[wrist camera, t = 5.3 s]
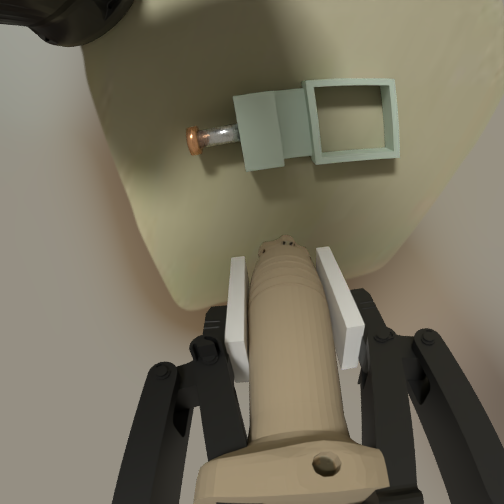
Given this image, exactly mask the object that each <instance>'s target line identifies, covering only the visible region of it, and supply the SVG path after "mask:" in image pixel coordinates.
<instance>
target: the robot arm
mask: <svg viewBox="0 0 504 504" xmlns="http://www.w3.org/2000/svg"><path fill="white" fill-rule="evenodd" d="M133 1H134V0H0V24H8V25H19V26H26V27H28V28H30V29H31V30H32V31H33V32H34V33H35V34H37V35H38V36H39V37H40V38H41V39H42V40H44V41H45V42H47V43H49V44H52V45H57V46H63V47H74V46H80V45H83V44H86V43H89V42H91V41H93V40H95V39H97V38H99V37H100V36H102V35H103V34H105V33H106V32H107V31H109V30H110V29H111V28H112V27H113V26H114V25H115V24H117V23H118V21H119V20H120V19H121V18H122V17H123V16H124V15H125V13H126V12H127V11H128V9H129V8H130V6H131V4H132V3H133ZM316 271H317V273H318V275H319V278H320V280H321V283H322V286H323V288H324V291H325V295H326V299H327V303H328V307H329V312H330V318H331V325H332V332H333V339H334V346H335V349H336V353H337V356H338V360H339V363H340V367H341V370H345V369H351V368H356V367H357V365H358V361H359V362H360V365H361V371H360V376H359V380H358V384H360V386H361V412H362V445H364V446H367V447H371V448H375V449H379V450H380V451H381V452H382V454H383V457H384V460H385V464H386V469H387V474H388V479H389V485H390V487H386V488H381V489H377V490H375V491H374V492H373V493H372V494H371V495H370V496H369V497H368V498H366V499H365V500H364V501H363V502H362V503H361V504H424V500H423V494H422V492H421V491H420V490H419V489H418V487H417V479H416V461H415V449H414V438H413V429H412V420H411V413H410V406H409V398H408V394H409V396H410V398H411V401H412V403H413V405H414V407H415V410H416V412H417V414H418V417H419V419H420V422H421V423H422V426H423V429H424V431H425V434H426V436H427V438H428V441H429V443H430V446H431V449H432V451H433V454H434V456H435V459H436V462H437V464H438V467H439V470H440V472H441V475H442V478H443V481H444V484H445V487H446V490H447V493H448V496H449V499H450V502H451V504H504V448H503V446H502V444H501V442H500V440H499V438H498V435H497V433H496V432H495V429H494V427H493V425H492V423H491V421H490V420H489V417H488V416H487V414H486V412H485V410H484V408H483V406H482V404H481V402H480V401H479V399H478V397H477V395H476V394H475V392H474V390H473V388H472V386H471V385H470V383H469V381H468V380H467V378H466V376H465V374H464V373H463V371H462V369H461V368H460V366H459V364H458V363H457V361H456V360H455V358H454V356H453V355H452V353H451V352H450V350H449V348H448V347H447V345H446V344H445V342H444V341H443V339H442V338H441V336H440V335H439V334H438V333H437V332H436V331H434V330H432V329H428V328H425V329H420V330H418V331H417V332H416V333H415V336H414V337H413V336H412V337H411V336H400V335H396V333H395V332H394V331H393V330H392V329H390V328H388V327H386V325H385V323H384V321H383V319H382V317H381V315H380V313H379V311H378V309H377V307H376V305H375V303H374V302H373V299H372V297H371V295H370V294H369V293H368V292H367V291H365V290H364V289H363V288H361V289H354V290H349V288H348V286H347V284H346V281H345V279H344V277H343V275H342V273H341V271H340V268H339V266H338V264H337V262H336V260H335V258H334V256H333V254H332V252H331V250H330V248H329V246H328V247H319V248H316ZM249 289H250V286H249V280H248V273H247V267H246V261H245V256H241V257H232V258H231V269H230V280H229V292H228V304H227V305H226V306H215V307H211V308H210V309H209V311H208V312H207V313H206V317H205V323H204V329H203V335H201V336H198V337H196V338H195V339H194V340H193V341H192V342H191V343H190V347H189V349H190V352H191V355H192V357H193V361H191V362H189V363H187V364H184V365H181V366H177V367H176V366H175V365H174V364H172V363H170V362H160V363H158V364H155V365H154V366H153V367H152V368H151V369H150V370H149V372H148V375H147V378H146V381H145V384H144V387H143V391H142V394H141V397H140V401H139V404H138V408H137V410H136V414H135V417H134V420H133V424H132V427H131V431H130V435H129V438H128V442H127V445H126V449H125V453H124V457H123V460H122V464H121V468H120V472H119V476H118V480H117V484H116V488H115V492H114V496H113V501H112V504H179V499H180V492H181V485H182V478H183V471H184V464H185V458H186V452H187V445H188V439H189V433H190V427H191V420H192V415H193V409H194V407H196V406H200V411H201V418H202V426H203V432H204V438H205V444H206V451H207V457H208V462H209V461H210V460H212V459H215V458H217V457H219V456H221V455H224V454H227V453H230V452H233V451H237V450H239V449H242V448H245V447H247V441H248V438H247V435H246V431H245V427H244V423H243V419H242V415H241V411H240V407H239V403H238V399H237V395H236V390H235V387H234V379H235V382H249V355H248V320H247V314H248V296H249ZM216 504H263V503H221V502H216Z"/></svg>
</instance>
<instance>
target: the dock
mask: <svg viewBox="0 0 504 504" xmlns="http://www.w3.org/2000/svg"><path fill="white" fill-rule="evenodd" d="M301 84H302V88H298V89H288V90H279V91H265V92H258V93H251V94H245V95H239V96H233V101H234V106H235V112H236V118H237V123H238V129H239V134H240V140H241V146H242V151H243V157H244V163H245V168H246V172H249V171H255V170H262V169H269V168H276V167H283V166H285V165H284V159H286V158H294V157H302V156H311V160H312V161H313V162H314V163H315V164H316V165H320V164H329V163H338V162H349V161H360V160H373V159H387V158H400V142H399V123H398V109H397V98H396V88H395V79H382V78H344V79H320V80H305V81H302V82H301ZM358 85H379V86H380V89H381V98H382V108H383V120H384V134H385V148H369V149H356V150H343V151H333V152H323V153H322V150H321V140H320V131H319V123H318V115H317V107H316V100H315V93H314V87H328V86H358Z"/></svg>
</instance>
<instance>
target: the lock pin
mask: <svg viewBox="0 0 504 504" xmlns="http://www.w3.org/2000/svg"><path fill="white" fill-rule="evenodd" d="M186 138H187V144H188V148H189V151H190V153H191V155H192V156H193V155H198V154H202V152H203V148H206V147H211V146H216V145H222V144H227V143H233V142H239V141H241V140H240V134H239V129H238V123H237V124H231V125H226V126H220V127H215V128H210V129H205V130H200V131H199V128H198V127H197V126H193V127H189V128H187V129H186Z"/></svg>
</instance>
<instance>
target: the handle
mask: <svg viewBox="0 0 504 504" xmlns="http://www.w3.org/2000/svg"><path fill="white" fill-rule="evenodd" d="M258 255H259V259H258V261H257V263H256V265H255V268H254V271H253V275H252V279H251V283H250V289H249V296H248V314H247V320H248V355H249V398H250V399H249V400H250V428H249V434H248V441H247V447H245V448H242V449H239V450H237V451H233V452H230V453H227V454H224V455H221V456H219V457H217V458H215V459H212V460H210V461H209V462H207V463H205V464H204V465H203V466H202V467H201V468H200V470H199V473H198V477H197V481H196V488H195V495H194V503H193V504H216V502H221V503H263V504H361V503H362V502H363V501H364V500H365V499H366V498H368V497H369V496H370V495H371V494H372V493H373V492H374V491H375V490H377V489H381V488H386V487H390V485H389V479H388V474H387V469H386V464H385V460H384V457H383V454H382V452H381V451H380V450H379V449H375V448H371V447H367V446H364V445H361V444H358V443H356V442H355V441H353V440H352V439H351V438H350V435H349V432H348V428H347V424H346V421H345V417H344V411H343V403H342V396H341V388H340V381H339V374H338V367H337V361H336V353H335V346H334V339H333V332H332V325H331V318H330V312H329V307H328V303H327V299H326V295H325V291H324V288H323V286H322V283H321V280H320V278H319V275H318V273H317V271H316V269H315V267H314V265H313V263H312V261H311V257H310V255H309V253H308V251H307V249H306V248H305V247H301V246H300V245H298V244H297V243H296V242H295V241H294V240H293V237H292V236H289V235H282V236H281V237H280V238H279V239H277V240H274V241H271V242H264V243H263V244H262V245H261V246H260V248H259V252H258Z"/></svg>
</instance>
